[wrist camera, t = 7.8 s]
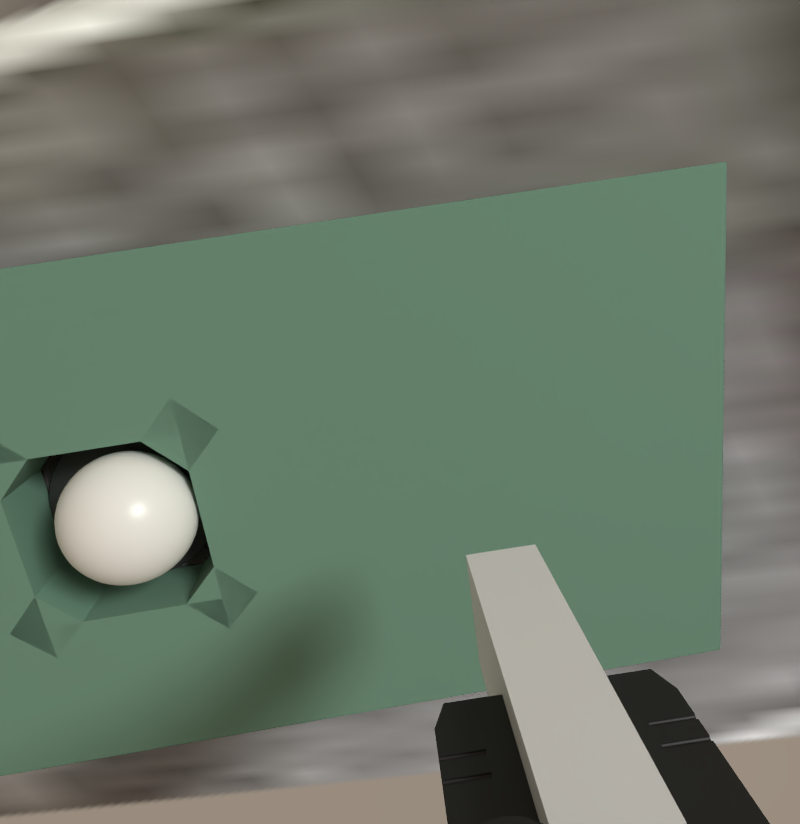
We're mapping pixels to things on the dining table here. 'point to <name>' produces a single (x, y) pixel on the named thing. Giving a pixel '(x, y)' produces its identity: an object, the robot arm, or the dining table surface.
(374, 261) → the putting mat
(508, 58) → the dining table surface
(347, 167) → the dining table surface
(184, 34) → the dining table surface
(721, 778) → the robot arm
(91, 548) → the golf ball
